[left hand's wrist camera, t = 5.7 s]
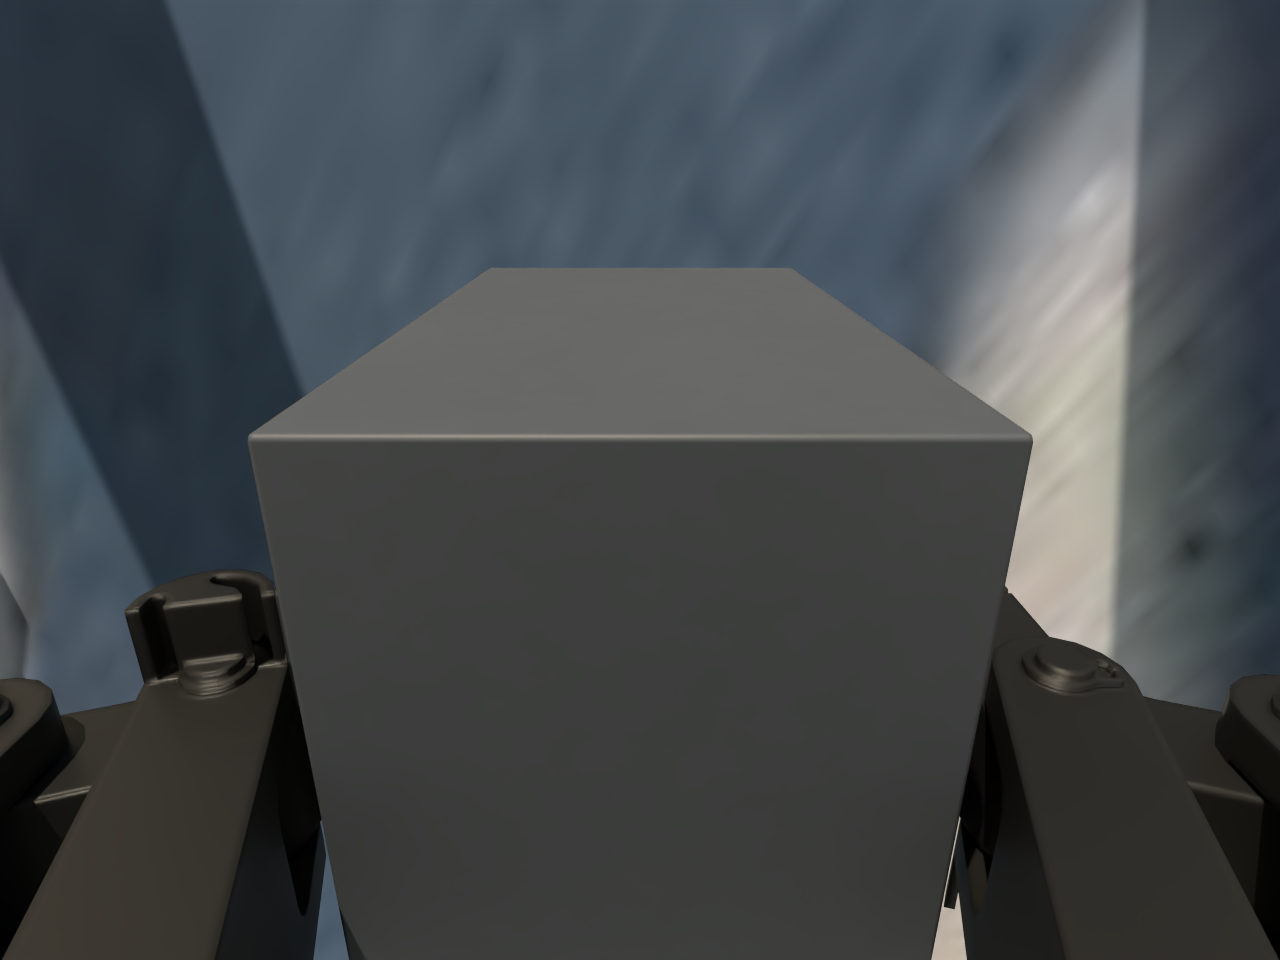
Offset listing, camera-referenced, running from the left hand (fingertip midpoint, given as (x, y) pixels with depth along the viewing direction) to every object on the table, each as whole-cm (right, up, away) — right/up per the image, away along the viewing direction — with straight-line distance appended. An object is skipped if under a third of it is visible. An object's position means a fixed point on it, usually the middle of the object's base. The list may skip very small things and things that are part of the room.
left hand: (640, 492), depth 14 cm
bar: (0, -6, +3) cm, 7 cm away
